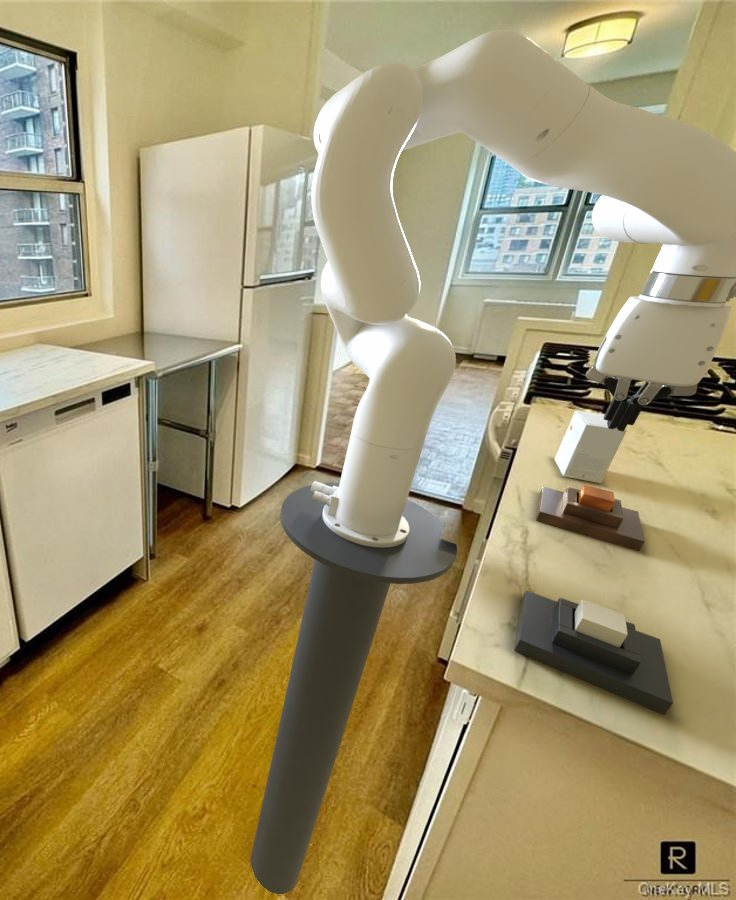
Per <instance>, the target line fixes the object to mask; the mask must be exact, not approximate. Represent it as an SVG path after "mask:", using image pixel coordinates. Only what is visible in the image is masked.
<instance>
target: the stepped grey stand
mask: <svg viewBox="0 0 736 900" xmlns="http://www.w3.org/2000/svg"><path fill="white" fill-rule="evenodd" d="M578 605H579V603H578V602H574V601H571V600H568V599H566V598H563V597H558V599H557V601H556V600H554V599H551V598H549V597H546V596H543V595H541V594H537V593H535V592H532V591H529V590H525V591H524V593H523V595H522V596H521V599H520V606H519V612H518V619H517V628H516V635H515V643H514V652H517V653H519V654H521V655H524V656H525V657H529V658H531V659H533V660H536V661H538V662H540V663H543V664H545V665H547V666H550V667H551V668H555V669H557V670H558V671H561V672H564V673H566V674H568V675H570V676H572V677H575V678H577V679H579V680H582V681H585V682H587V683H589V684H591V685H594V686H596V687H598V688H601V689H603V690H605V691H607V692H610V693H613V694H615V695H617V696H620V697H622V698H624V699H627V700H629V701H631V702H634V703H636V704H638V705H641V706H643V707H645V708H647V709H649V710H652V711H655V712H657V713H659V714H662V715H666V714H667V712H668V711H669V710H670V708H671V707H672V705H673V704H674V702H673V701H674V700H673V696H672V692H671V687H670V682H669V675H668V672H667V667H666V666H667V665H666V662H665V657H664V652H663V647H662V643H661V642H662V641H661V639H660V638H658V637H656V636H652V635H650V634H647V633H644V632H641V631H639V630H637V629H636V624H635V623H632V622H629V621H627V620H626V626H627V634H628V635H627V637H626V638H625V640H624V641H623V643H622V645H621V646H620V648H619V647H616V646H613V645H611V644H608V643H606V642H603V641H601V640H598V639H595V638H593V637H590V636H588V635H585V634H582V633H580V632H577V631H575V630H574V612H575V611H576V609H577V607H578Z"/></svg>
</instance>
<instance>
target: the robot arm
mask: <svg viewBox="0 0 736 900" xmlns="http://www.w3.org/2000/svg"><path fill="white" fill-rule="evenodd" d="M456 134H463V135H465V136H466V137H468V139H469V138H470V140H472V141H473V142H475V143H477V144H478V145H479V146H481V147H483V149H485V150H487V151H488V152H490V153H491V154H493V155H494V156H495V157H497V158H498V159H500V160H501V161H503V163H505V164H507V165H508V166H509V167H510V168H513V169H514V170H515V171H517V172H518V173H520V175H522V176H524V177H525V178H527V179H528V180H531V181H533V182H537V183H540V184H544V185H547V186H551V187H554V188H559V189H566V190H573V191H580V192H587V193H591V194H596V195H600V196H599V198H598V199H597V201H596V202H595V205H594V206H593V209H592V212H591V222H592V226H593V228H594V229H595V232H597V233H598V234H599V235H600V236H601V237H603V238H606V239H608V240H610V241H613V242H619V243H628V244H642V245H643V244H644V245H648V244H653V245H662V247H661V249H660V250H659V253H658V255H657V258H656V260H655V261H654V264H653V267H652V269H651V271H650V273H649V274H648V276H647V278H646V280H645V283H644V285H643V287H642V289H641V292H640V293H639V295H637V296H636V295H635V296H630V297H629V298H628V299H627V301H626V302H625V303H624V304H623V306H622V307H621V309H620V310H619V311H618V313H617V315H616V317H615V318H614V320H613V322H612V323H611V325H610V326H609V329H608V331H607V332H606V334H605V336H604V338H603V340H602V342H601V344H600V345H599V348H598V350H597V352H596V355H595V357H594V360H593V363H592V364H591V366H590V367H589V368H588V370H587V371H586V372H585V377H586V379H587V380H589V381H593V382H595V383H598V384H602V385H604V386H605V387H606V388H607V390H608V392H609V393H610V394H611V395H612V399H611V401H610V403H609V405H608V407H607V409H606V411H605V413H604V414H603V415H604V420H608V421H607V425H608V428H609V429H616V428H617V429H618V431H624V430H626V428H627V426H634V425H635V423H636V421H637V420H638V418H639V416H640V415H641V412H642V410H643V408H644V406H646V405H650V403H651V402H655V401H657V400H659V399H662V398H666V397H667V396H672V397H689V396H690V397H691V396H694V395H695V394H696V393H697V389H698V385H699V383H700V381H701V380H702V379H703V377H704V376H705V374H706V373H707V370H708V369H709V367H710V365H711V363H712V361H713V358H714V357H715V354H716V352H717V349H718V348H719V345H720V343H721V341H722V338H723V336H724V334H725V330H726V328H727V325H728V322H729V319H730V315H731V311H732V306H731V305H728V304H727V302H728V303H729V302H730V301H731V299H734V298H736V150H735V149H733V148H732V147H731V146H730V145H728V144H727V143H726V142H724V141H723V140H722V139H720V138H718V137H717V136H715V135H713V134H711V133H710V132H707V131H705V130H703V129H701V128H698V127H696V126H693V125H691V124H688V123H686V122H682V121H679V120H677V119H673V118H669V117H667V116H663V115H660V114H657V113H654V112H652V111H648V110H645V109H644V108H643V109H642V108H639V107H636V106H632V105H628V104H625V103H621V102H618V101H615V100H613V99H610V98H609V97H607V96H605V95H604V94H602V93H601V92H600V91H598V90H597V89H596V88H594V87H593V86H592V84H591V85H590V84H589V83H588V82H586V81H585V80H584V79H582V78H581V77H579V76H578V75H577V74H576V73H574V72H573V71H572V70H571V69H569V68H568V67H566V66H565V64H563V63H562V62H560V61H559V60H558V59H556V58H555V57H554V56H552V54H550V53H549V52H547V51H546V50H545V49H543V48H542V47H541V46H540V45H538V44H537V43H535V42H534V41H533V40H532V39H530V38H529V37H527V36H526V35H525V34H522V33H520V32H519V31H516V30H513V29H507V28H506V29H505V28H501V29H494V30H490V31H488V32H485V33H483V34H480V35H478V36H476V37H474V38H472V39H471V40H468V41H467V42H465V43H463V44H461V45H460V46H458V47H455V48H454V49H453V50H451V51H449V52H447V53H446V54H443V55H441V56H439V57H437V58H435V59H433V60H430V61H428V62H426V63H423V64H420V65H418V66H414V67H410V66H409V65H407V64H405V63H402V62H401V63H400V62H386V63H382V64H379V65H376V66H374V67H372V68H370V69H368V70H366V71H364V72H363V73H361V74H360V75H359V76H357V77H356V78H354V79H352V80H351V81H350V82H349V83H348V84H346V85H345V86H343V88H340V90H338V91H336V92H335V93H334V94H333V95H332V96H331V97H330V98H329V99H328V100H327V101H326V102H325V103H324V105H323V106H322V107H321V109H320V111H319V113H318V115H317V117H316V120H315V122H314V128H313V142H314V143H313V144H314V147H315V149H316V152H317V154H318V156H317V160H316V164H315V168H314V172H313V178H312V184H311V195H310V196H311V197H310V201H311V212H312V217H313V220H314V225H315V226H314V227H315V229H316V232H317V235H318V238H319V240H320V243H321V246H322V249H323V252H324V255H325V257H326V260H327V262H326V263H325V265H324V267H323V269H322V273H321V277H320V278H321V279H320V290H321V291H320V292H321V295H322V300H323V303H324V304H325V307H326V309H327V312H328V314H329V317H330V319H331V321H332V323H333V325H334V328H335V330H336V333H337V334H338V337H339V339H340V341H341V343H342V346H343V349H344V351H345V353H346V354H347V356H348V358H349V360H350V361H351V362H352V364H353V365H354V366H355V367H356V368H357V369H358V370H360V372H362V373H363V374H364V375H366V376H367V378H369V380H368V384H367V387H366V389H365V392H364V393H363V395H362V397H361V399H360V401H359V403H358V405H357V408H356V411H355V413H354V418H353V421H352V426H351V432H350V436H349V441H348V446H347V448H346V453H345V458H344V462H343V467H342V471H341V476H340V480H339V483H340V484H339V487H336V486H333V487H330V486H327V485H325V484H322V483H323V482H319V481H315V480H314V481H313V482H312V484H311V485H312V486H311V492H313V493H314V494H313V499H315V500H318V501H322V502H325V503H326V505H325V506H324V509H323V514H322V516H323V520H324V522H325V524H326V525H327V526H328V528H330V529H331V530H332V531H333V532H334V533H336V534H337V535H339V536H340V537H342V538H344V539H346V540H348V541H351V542H354V543H357V544H360V545H364V546H369V547H378V548H386V547H393V546H397V545H400V544H402V543H403V542H405V541H406V539H407V538H408V535H409V532H410V527H409V524H408V522H407V521H406V520H405V518H404V517H403V516H402V514H403V511H404V508H405V504H406V501H407V500H408V497H409V494H410V490H411V487H412V484H413V481H414V478H415V474H416V471H417V467H418V465H419V461H420V458H421V455H422V451H423V448H424V445H425V441H426V439H427V434H428V432H429V427H430V425H431V421H432V419H433V417H434V414H435V412H436V409H437V407H438V404H439V403H440V401H441V399H442V396H443V395H444V393H446V392H445V391H446V390H447V388H448V386H449V384H450V383H451V380H452V378H453V376H454V372H455V370H456V365H457V358H456V357H457V355H456V352H455V347H454V345H453V344H452V342H451V340H450V339H449V338H448V337H447V336H446V335H445V334H444V333H443V332H442V331H440V330H439V329H438V328H436V327H434V326H432V325H430V324H427V323H426V322H423V321H421V320H419V319H416V318H413V317H410V316H408V314H409V313H410V312H412V310H413V309H414V307H415V306H416V304H417V302H418V300H419V297H420V293H421V280H420V273H419V270H418V268H417V264H416V262H415V260H414V257H413V254H412V252H411V249H410V246H409V244H408V240H407V239H406V238H407V237H406V235H405V232H404V230H403V227H402V225H401V222H400V219H399V215H398V212H397V211H398V210H397V206H396V203H395V200H394V195H393V179H394V172H395V168H396V166H397V162H398V159H399V157H400V155H401V153H402V151H405V150H409V149H411V148H415V147H417V146H421V145H424V144H427V143H430V142H433V141H436V140H439V139H442V138H445V137H449V136H452V135H456ZM632 380H634V381H640V382H644V383H643V384H642V385H641V386H640V388H639V389H638V391H636V393H635V394H633V395H632V397H629V395H628V393H629V389H630V386H631V382H632Z"/></svg>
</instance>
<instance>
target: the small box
mask: <svg viewBox="0 0 736 900" xmlns="http://www.w3.org/2000/svg"><path fill="white" fill-rule="evenodd" d="M604 415H605V414H603V413H596V412H589V411H582V410H575V411H574V413H573V415H572V418H571V420H570V422H569V425H568V427H567V428H566V432H565V433H564V436H563V439H562V440H561V442H560V443H561V444H560V446H559V448H558V450H557V453H556V454H555V457H554V462H555V463H556V466H557V467H558V470H559V471H560V473H561V475H562V477H565V478H571V479H576V480H581V481H587V482H591V483H596V484H597V483H598V484H601V483H603V480H604V478H605V476H606V474H607V472H608V470H609V468H610V466H611V463H612V462H613V459H614V458H615V456H616V453H617V451H618V449H619V447H620V445H621V443H622V442H623V439H624V437H625V435H626V433H627V429H625V430H624V431H618V429H617V428H616V429H609V428H608V425H607V421H608V420H604Z"/></svg>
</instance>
